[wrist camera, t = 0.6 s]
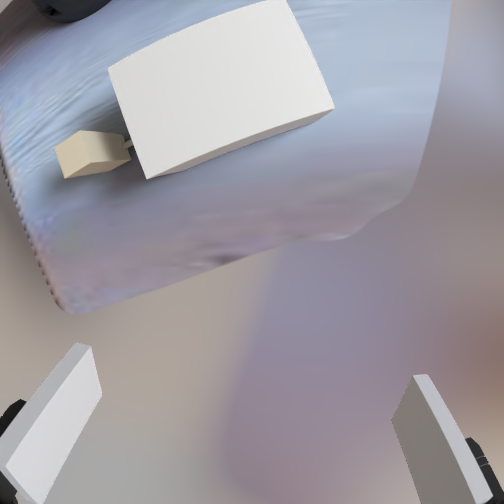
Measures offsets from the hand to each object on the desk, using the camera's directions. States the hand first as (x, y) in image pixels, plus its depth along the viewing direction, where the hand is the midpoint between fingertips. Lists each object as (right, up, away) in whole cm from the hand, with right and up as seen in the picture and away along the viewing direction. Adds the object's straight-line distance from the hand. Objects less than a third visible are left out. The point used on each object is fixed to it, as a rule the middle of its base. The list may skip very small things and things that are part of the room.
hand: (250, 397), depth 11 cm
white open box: (-3, +21, +19) cm, 28 cm away
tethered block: (-7, +19, +19) cm, 28 cm away
